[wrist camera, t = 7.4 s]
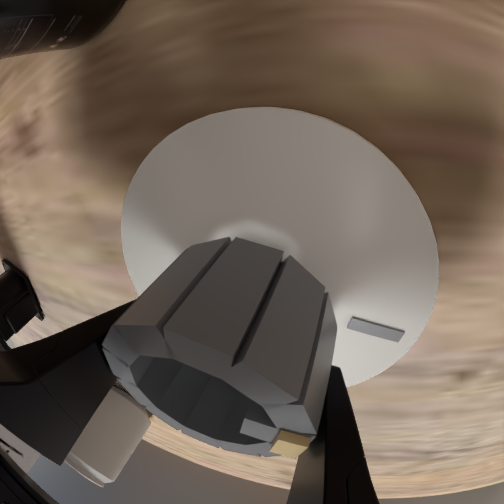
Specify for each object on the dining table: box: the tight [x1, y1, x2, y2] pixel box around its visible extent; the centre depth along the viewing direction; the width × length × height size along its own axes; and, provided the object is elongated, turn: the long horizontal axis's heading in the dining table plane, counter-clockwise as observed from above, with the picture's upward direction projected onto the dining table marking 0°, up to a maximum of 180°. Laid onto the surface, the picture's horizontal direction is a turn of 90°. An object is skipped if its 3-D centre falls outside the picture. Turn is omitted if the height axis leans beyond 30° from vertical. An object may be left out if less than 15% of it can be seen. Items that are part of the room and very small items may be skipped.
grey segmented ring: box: [102, 237, 337, 459], centre depth 8 cm, size 6×6×4 cm
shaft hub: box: [121, 107, 439, 387], centre depth 11 cm, size 14×14×4 cm
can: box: [64, 386, 151, 487], centre depth 24 cm, size 8×8×12 cm
